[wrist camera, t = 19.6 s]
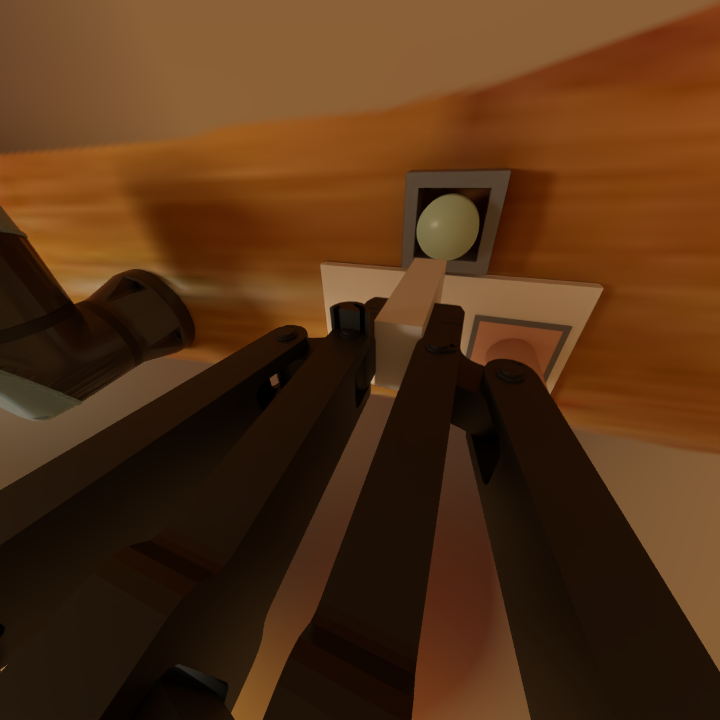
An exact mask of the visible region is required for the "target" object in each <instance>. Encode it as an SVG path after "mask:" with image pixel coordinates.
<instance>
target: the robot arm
mask: <svg viewBox="0 0 720 720" xmlns="http://www.w3.org/2000/svg"><path fill="white" fill-rule="evenodd" d="M27 238H28V237H27V235H26V234H25V233H24V232H22V231H20V229H19V228H18V227H17V226H16V225H15V223H14V222H13V221H12V220H11V218H10V217H9V216H8V215H7V213H6V212H5V211H4V209H3V208H2V207H1V206H0V407H1V408H3V409H5V410H7V411H9V412H11V413H13V414H15V415H17V416H20V417H22V418H25V419H28V420H32V421H45V420H50V419H53V418H55V417H57V416H58V415H60V414H62V413H64V412H66V411H67V410H69V409H71V408H73V407H75V406H76V405H80V404H82V401H84V400H86V399H87V398H89V397H90V396H92V395H94V394H95V393H96V392H98V391H99V390H101V389H103V388H104V387H106V386H107V385H109V384H110V383H112V382H114V381H115V380H117V379H118V378H120V377H121V376H123V375H124V374H126V373H128V372H129V371H131V370H132V369H134V368H135V367H137V366H138V365H140V364H142V363H143V362H145V361H149V360H152V359H156V358H160V357H163V356H167V355H170V354H174V353H177V352H179V351H181V350H183V349H184V348H186V347H187V346H189V345H190V344H191V343H192V342H193V339H194V326H193V322H192V320H191V317H190V315H189V313H188V311H187V309H186V308H185V306H184V305H183V303H182V302H181V300H180V299H179V298H178V297H177V296H176V294H175V293H174V292H173V291H172V290H171V289H170V288H169V287H168V286H167V285H165V284H164V283H163V282H162V281H160V280H159V279H158V278H156V277H154V276H153V275H151V274H149V273H147V272H144V271H141V270H135V269H132V270H128V271H125V272H122V273H119V274H117V275H115V276H113V277H112V278H111V279H110V280H108V281H107V282H106V283H105V284H104V285H103V286H101V287H100V288H99V289H98V290H97V291H96V292H95V293H93V294H92V295H91V296H90V297H89V298H88V299H86V300H84V301H81V302H79V303H76V304H74V303H73V302H72V301H71V299H70V298H69V296H68V295H67V294H66V292H65V291H64V290H63V288H62V287H61V286H60V284H59V283H58V281H57V280H56V279H55V277H54V276H53V274H52V273H51V272H50V270H49V269H48V267H47V266H46V265H45V263H44V262H43V260H42V259H41V258H40V256H39V255H38V253H37V252H36V251H35V249H34V248H33V246H32V245H31V244H30V242H29V241H28V239H27ZM446 263H447V260H439V259H425V258H415V259H414V261H413V262H412V264H411V265H410V267H409V268H408V270H407V271H406V273H405V274H404V276H403V277H402V279H401V281H400V282H399V284H398V285H397V287H396V288H395V290H394V291H393V293H392V294H391V296H390V297H389V298H383V297H374V298H372V299H370V300H368V301H367V302H366V303H365V304H363V303H360V302H354V301H347V302H340V303H337V304H334V305H333V306H331V307H330V317H331V326H332V330H331V332H330V333H329V334H328V335H327V336H326V337H324V338H308V334H307V331H306V329H305V328H303V327H301V326H296V325H286V326H283V327H279V328H277V329H275V330H273V331H271V332H269V333H268V334H266V335H264V336H263V337H261V338H259V339H257V340H256V341H254V342H252V343H251V344H249V345H247V346H245V347H244V348H242V349H240V350H239V351H237V352H235V353H234V354H232V355H230V356H228V357H227V358H225V359H223V360H222V361H220V362H218V363H216V364H215V365H213V366H211V367H210V368H208V369H206V370H205V371H203V372H201V373H200V374H198V375H196V376H195V377H193V378H191V379H189V380H187V381H186V382H184V383H182V384H181V385H179V386H177V387H175V388H174V389H172V390H170V391H169V392H167V393H166V394H164V395H162V396H160V397H158V398H157V399H155V400H154V401H152V402H150V403H148V404H147V405H145V406H143V407H141V408H140V409H138V410H136V411H135V412H133V413H131V414H130V415H128V416H126V417H124V418H123V419H121V420H119V421H117V422H116V423H114V424H112V425H111V426H109V427H107V428H106V429H104V430H102V431H100V432H99V433H97V434H95V435H94V436H92V437H90V438H89V439H87V440H85V441H83V442H82V443H80V444H78V445H77V446H75V447H73V448H72V449H70V450H68V451H66V452H65V453H63V454H61V455H59V456H58V457H56V458H54V459H53V460H51V461H49V462H48V463H46V464H44V465H42V466H41V467H39V468H37V469H36V470H34V471H32V472H31V473H29V474H27V475H25V476H24V477H22V478H20V479H19V480H17V481H15V482H13V483H12V484H10V485H8V486H7V487H5V488H3V489H2V490H0V669H2V668H3V667H5V666H6V665H7V666H6V667H5V668H4V669H3V670H2V671H1V670H0V720H235V719H234V718H233V716H232V715H231V712H232V709H233V707H234V705H235V703H236V701H237V698H238V696H239V694H240V692H241V689H242V687H243V685H244V683H245V681H246V679H247V676H248V674H249V672H250V670H251V668H252V665H253V663H254V660H255V658H256V655H257V653H258V650H259V647H260V643H261V640H262V635H263V628H264V622H265V619H266V616H267V613H268V611H269V608H270V606H271V604H272V602H273V599H274V598H275V595H276V593H277V591H278V589H279V587H280V585H281V583H282V581H283V578H284V576H285V574H286V572H287V570H288V568H289V565H290V563H291V561H292V559H293V557H294V555H295V553H296V551H297V549H298V547H299V544H300V542H301V540H302V538H303V536H304V534H305V532H306V530H307V528H308V525H309V523H310V521H311V519H312V517H313V515H314V513H315V510H316V508H317V506H318V504H319V502H320V500H321V498H322V495H323V494H324V491H325V489H326V487H327V485H328V483H329V481H330V479H331V477H332V474H333V472H334V470H335V468H336V466H337V464H338V462H339V460H340V458H341V455H342V453H343V451H344V449H345V447H346V445H347V443H348V441H349V438H350V436H351V434H352V432H353V430H354V428H355V426H356V423H357V421H358V419H359V417H360V415H361V413H362V411H363V409H364V407H365V404H366V402H367V400H368V398H369V396H370V392H371V381H372V379H373V377H374V375H375V386H379V387H384V388H389V389H393V390H398V393H397V396H396V399H395V402H394V404H393V407H392V410H391V412H390V415H389V417H388V420H387V423H386V425H385V428H384V431H383V434H382V436H381V439H380V442H379V444H378V447H377V450H376V453H375V455H374V458H373V460H372V463H371V466H370V469H369V471H368V474H367V476H366V480H365V482H364V485H363V487H362V490H361V493H360V495H359V498H358V501H357V503H356V506H355V509H354V511H353V514H352V517H351V520H350V522H349V525H348V527H347V530H346V533H345V536H344V538H343V541H342V544H341V547H340V549H339V552H338V554H337V557H336V560H335V562H334V565H333V568H332V571H331V573H330V576H329V578H328V581H327V584H326V586H325V589H324V592H323V595H322V597H321V600H320V602H319V605H318V607H317V610H316V612H315V614H314V616H313V618H312V620H311V622H310V623H309V624H308V626H307V627H306V628H305V630H304V631H303V632H302V634H301V635H300V636H299V638H298V640H297V642H296V643H295V645H294V648H293V649H292V651H291V653H290V655H289V657H288V659H287V662H286V664H285V666H284V668H283V671H282V673H281V676H280V678H279V680H278V682H277V685H276V688H275V690H274V692H273V695H272V698H271V700H270V703H269V705H268V708H267V710H266V713H265V716H264V718H263V720H411V719H412V709H413V700H414V685H415V684H414V683H415V671H416V662H417V655H418V647H419V640H420V633H421V626H422V619H423V612H424V604H425V598H426V591H427V584H428V577H429V570H430V563H431V556H432V549H433V541H434V535H435V528H436V521H437V514H438V506H439V500H440V493H441V486H442V479H443V472H444V464H445V457H446V451H447V443H448V436H449V429H450V423H451V424H453V425H455V426H457V427H459V428H461V429H463V430H465V431H466V439H467V444H468V448H469V452H470V457H471V461H472V465H473V470H474V474H475V478H476V483H477V487H478V492H479V496H480V500H481V505H482V509H483V513H484V518H485V522H486V526H487V531H488V535H489V539H490V543H491V548H492V552H493V557H494V561H495V565H496V570H497V573H498V578H499V582H500V587H501V591H502V596H503V600H504V604H505V609H506V613H507V617H508V621H509V626H510V631H511V635H512V639H513V644H514V648H515V652H516V657H517V661H518V665H519V670H520V674H521V678H522V683H523V686H524V691H525V695H526V700H527V704H528V709H529V713H530V717H531V720H720V672H719V670H718V668H717V667H716V665H715V664H714V662H713V660H712V659H711V657H710V655H709V654H708V652H707V650H706V649H705V647H704V645H703V644H702V642H701V640H700V639H699V637H698V636H697V634H696V632H695V631H694V629H693V628H692V626H691V624H690V622H689V621H688V619H687V618H686V616H685V614H684V613H683V611H682V610H681V608H680V606H679V605H678V603H677V601H676V600H675V598H674V596H673V595H672V593H671V591H670V590H669V588H668V587H667V585H666V583H665V582H664V580H663V578H662V577H661V575H660V573H659V572H658V570H657V569H656V567H655V565H654V564H653V562H652V561H651V559H650V557H649V555H648V554H647V552H646V551H645V549H644V547H643V546H642V544H641V542H640V541H639V539H638V538H637V536H636V534H635V533H634V531H633V530H632V528H631V526H630V524H629V523H628V521H627V520H626V518H625V516H624V515H623V513H622V511H621V510H620V508H619V507H618V505H617V503H616V502H615V500H614V498H613V497H612V495H611V493H610V492H609V491H608V488H607V487H606V485H605V484H604V482H603V480H602V479H601V477H600V475H599V474H598V472H597V471H596V469H595V467H594V466H593V464H592V462H591V461H590V459H589V457H588V456H587V454H586V453H585V451H584V449H583V448H582V446H581V444H580V443H579V441H578V439H577V438H576V436H575V435H574V433H573V431H572V430H571V428H570V426H569V425H568V423H567V421H566V420H565V418H564V417H563V415H562V413H561V412H560V410H559V408H558V407H557V405H556V403H555V402H554V400H553V399H552V397H551V395H550V394H549V392H548V390H547V389H546V387H545V385H544V384H543V382H542V381H541V379H540V377H539V376H538V374H537V373H536V372H535V371H534V370H533V369H532V368H531V367H529V366H527V365H526V364H524V363H521V362H519V361H516V360H511V359H504V358H503V359H494V360H491V361H489V362H488V363H487V364H486V365H485V366H483V365H481V364H478V363H476V362H473V361H471V360H470V359H468V358H467V357H466V356H465V355H464V354H463V353H462V351H461V348H460V345H461V338H462V331H463V324H464V317H465V311H464V310H463V309H462V307H461V306H458V305H450V304H441V297H442V290H443V283H444V277H445V270H446ZM275 374H277V378H278V381H279V383H278V384H276V385H274V386H271V382H270V379H269V378H270V377H272V376H273V375H275Z"/></svg>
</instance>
